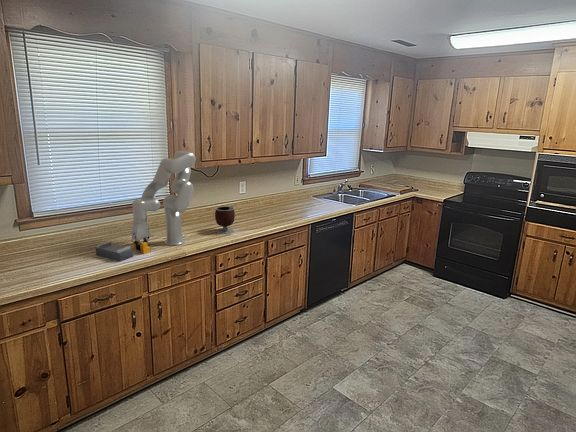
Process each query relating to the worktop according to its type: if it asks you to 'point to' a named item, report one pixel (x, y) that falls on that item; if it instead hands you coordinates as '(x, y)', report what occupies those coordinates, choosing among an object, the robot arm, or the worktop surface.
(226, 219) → the mate gourd
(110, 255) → the mounting block
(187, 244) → the worktop surface
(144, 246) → the orange stepped block
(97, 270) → the worktop surface
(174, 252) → the worktop surface
